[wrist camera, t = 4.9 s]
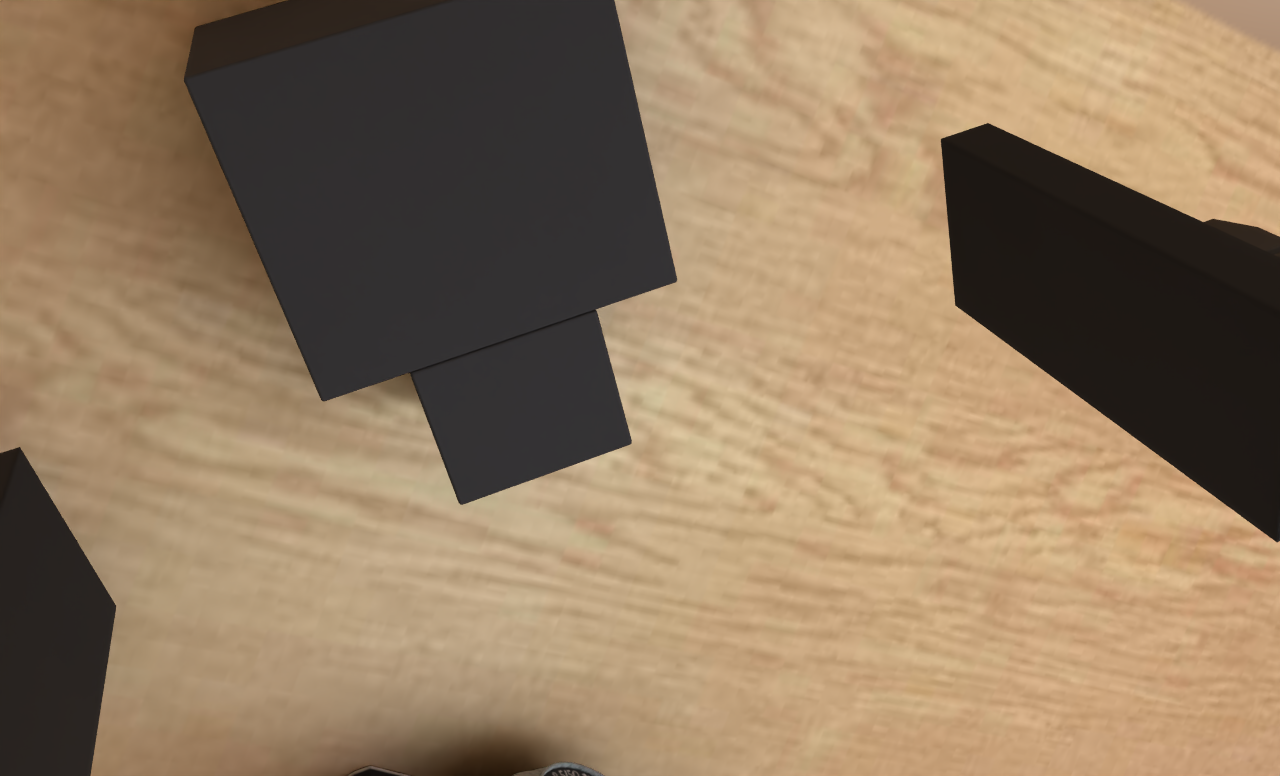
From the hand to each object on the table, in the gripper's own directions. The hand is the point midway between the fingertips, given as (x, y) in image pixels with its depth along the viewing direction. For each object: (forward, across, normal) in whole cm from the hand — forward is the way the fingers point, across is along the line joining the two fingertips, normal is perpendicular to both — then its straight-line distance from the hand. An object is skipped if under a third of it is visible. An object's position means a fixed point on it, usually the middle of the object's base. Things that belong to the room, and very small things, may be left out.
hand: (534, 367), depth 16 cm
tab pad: (+13, 0, -2) cm, 13 cm away
